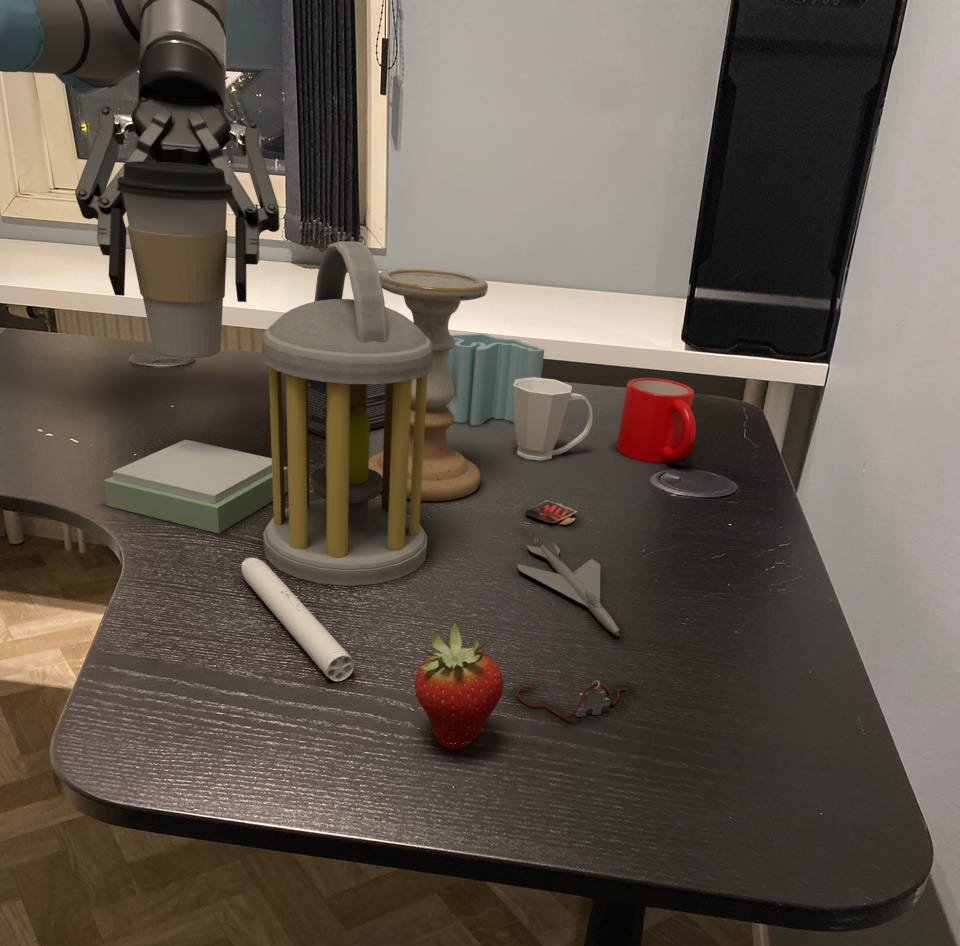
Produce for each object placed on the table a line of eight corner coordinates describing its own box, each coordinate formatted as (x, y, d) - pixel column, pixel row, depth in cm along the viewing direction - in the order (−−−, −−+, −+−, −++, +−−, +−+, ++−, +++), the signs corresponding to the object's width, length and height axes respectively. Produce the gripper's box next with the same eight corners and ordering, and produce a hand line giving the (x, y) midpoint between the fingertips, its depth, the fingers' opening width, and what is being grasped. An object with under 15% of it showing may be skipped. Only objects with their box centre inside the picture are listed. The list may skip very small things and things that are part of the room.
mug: (658, 476, 103) (672, 408, 99) (604, 442, 113) (615, 378, 109) (714, 472, 106) (730, 405, 102) (657, 439, 116) (669, 376, 112)
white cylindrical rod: (233, 574, 74) (232, 548, 73) (258, 570, 75) (257, 544, 74) (326, 685, 61) (326, 655, 60) (354, 678, 62) (355, 648, 61)
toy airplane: (572, 645, 69) (576, 618, 68) (485, 532, 86) (487, 509, 85) (662, 636, 71) (667, 611, 70) (560, 528, 88) (563, 506, 87)
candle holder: (394, 452, 103) (402, 261, 93) (496, 474, 99) (516, 279, 89) (342, 486, 93) (344, 276, 82) (453, 512, 89) (470, 296, 79)
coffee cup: (137, 336, 86) (119, 157, 78) (241, 339, 88) (232, 166, 81) (129, 362, 78) (107, 166, 71) (242, 365, 80) (233, 175, 73)
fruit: (413, 717, 59) (419, 609, 55) (495, 722, 59) (507, 615, 55) (409, 766, 55) (415, 653, 51) (498, 771, 55) (511, 659, 51)
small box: (361, 411, 115) (362, 325, 110) (396, 425, 112) (400, 337, 106) (294, 425, 108) (292, 334, 103) (330, 440, 104) (330, 347, 99)
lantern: (453, 573, 78) (477, 259, 65) (290, 596, 72) (282, 256, 59) (391, 509, 88) (402, 230, 76) (245, 525, 82) (230, 224, 70)
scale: (102, 505, 84) (98, 471, 82) (183, 466, 94) (180, 435, 92) (219, 534, 80) (216, 499, 79) (289, 491, 90) (288, 459, 89)
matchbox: (521, 516, 89) (522, 512, 89) (541, 501, 93) (541, 496, 93) (566, 528, 88) (566, 524, 88) (583, 512, 92) (584, 507, 92)
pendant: (534, 728, 59) (539, 694, 58) (513, 691, 63) (517, 658, 61) (645, 716, 61) (653, 683, 60) (618, 680, 65) (625, 648, 64)
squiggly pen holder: (503, 403, 124) (509, 332, 119) (538, 425, 116) (547, 350, 112) (378, 409, 116) (380, 334, 112) (407, 434, 109) (411, 354, 104)
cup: (497, 444, 108) (504, 376, 104) (576, 444, 111) (585, 377, 107) (514, 464, 103) (522, 393, 99) (596, 464, 105) (607, 394, 101)
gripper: (306, 117, 89) (311, 321, 83) (63, 94, 84) (52, 308, 79) (306, 50, 81) (311, 269, 76) (41, 22, 77) (27, 252, 72)
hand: (179, 289), depth 78 cm, fingers closed on coffee cup, 9 cm apart
